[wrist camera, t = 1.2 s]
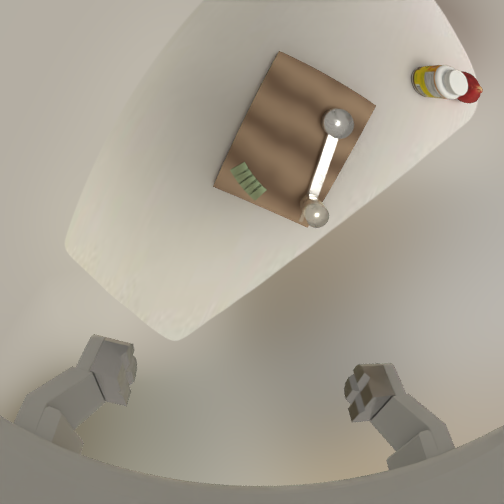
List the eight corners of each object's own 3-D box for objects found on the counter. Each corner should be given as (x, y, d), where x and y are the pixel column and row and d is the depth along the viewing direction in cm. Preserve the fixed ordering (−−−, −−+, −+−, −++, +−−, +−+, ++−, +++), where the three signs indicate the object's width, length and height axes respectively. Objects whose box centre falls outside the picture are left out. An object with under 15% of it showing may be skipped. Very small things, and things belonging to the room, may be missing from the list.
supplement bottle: (435, 71, 33) (472, 71, 25) (434, 100, 36) (471, 105, 27) (410, 63, 33) (445, 59, 24) (409, 92, 36) (445, 95, 27)
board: (277, 53, 34) (279, 50, 32) (370, 105, 38) (376, 105, 36) (214, 182, 44) (212, 187, 42) (305, 222, 48) (307, 228, 46)
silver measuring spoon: (326, 104, 36) (339, 105, 30) (353, 114, 36) (369, 117, 31) (292, 207, 44) (298, 223, 38) (318, 214, 44) (328, 231, 39)
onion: (442, 98, 36) (469, 102, 29) (440, 68, 33) (468, 68, 26) (463, 103, 36) (491, 108, 29) (462, 75, 33) (490, 76, 26)
